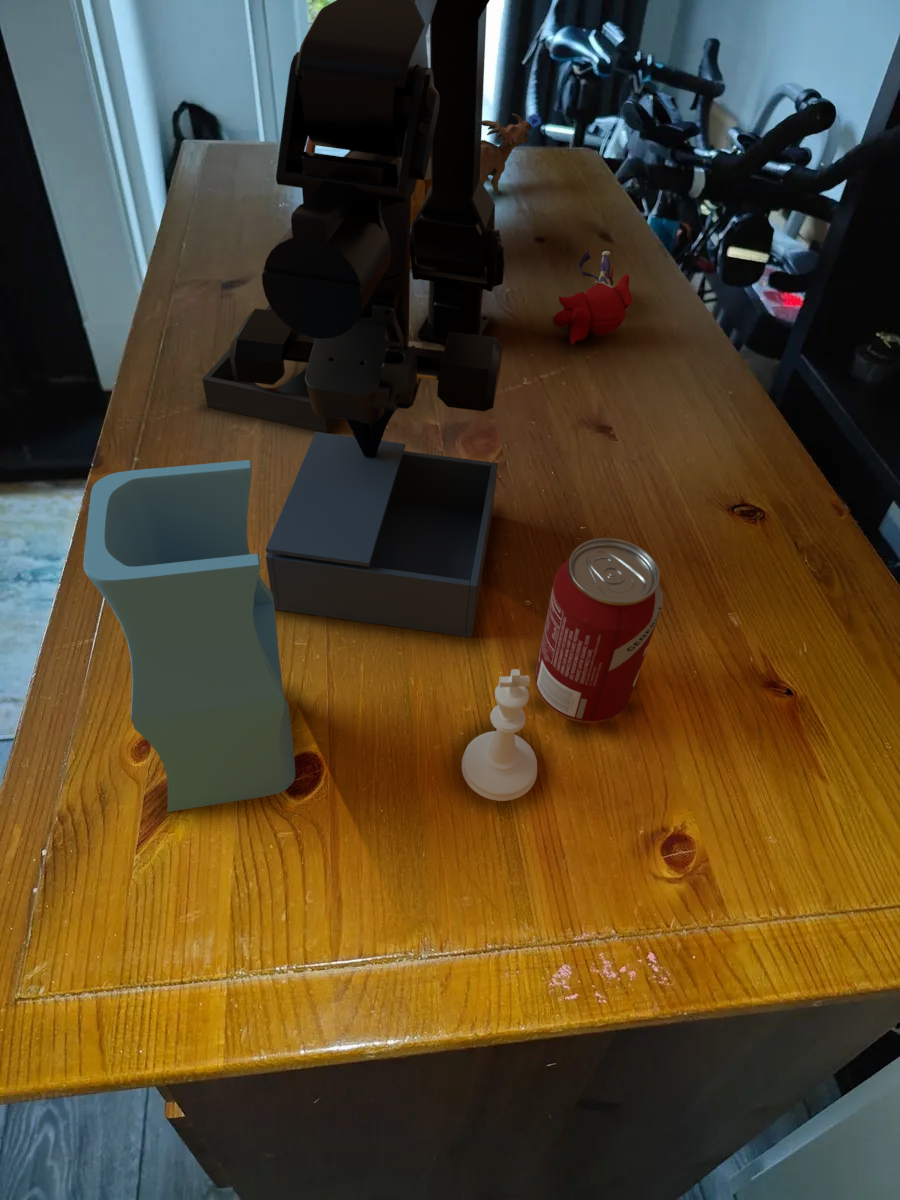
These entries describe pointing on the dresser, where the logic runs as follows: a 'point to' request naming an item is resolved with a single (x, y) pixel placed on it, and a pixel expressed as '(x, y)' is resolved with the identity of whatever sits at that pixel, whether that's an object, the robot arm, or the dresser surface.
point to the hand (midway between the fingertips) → (370, 454)
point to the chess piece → (503, 746)
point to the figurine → (595, 303)
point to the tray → (262, 398)
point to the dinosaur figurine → (500, 148)
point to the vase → (194, 628)
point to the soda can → (598, 629)
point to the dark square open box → (406, 554)
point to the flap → (337, 501)
